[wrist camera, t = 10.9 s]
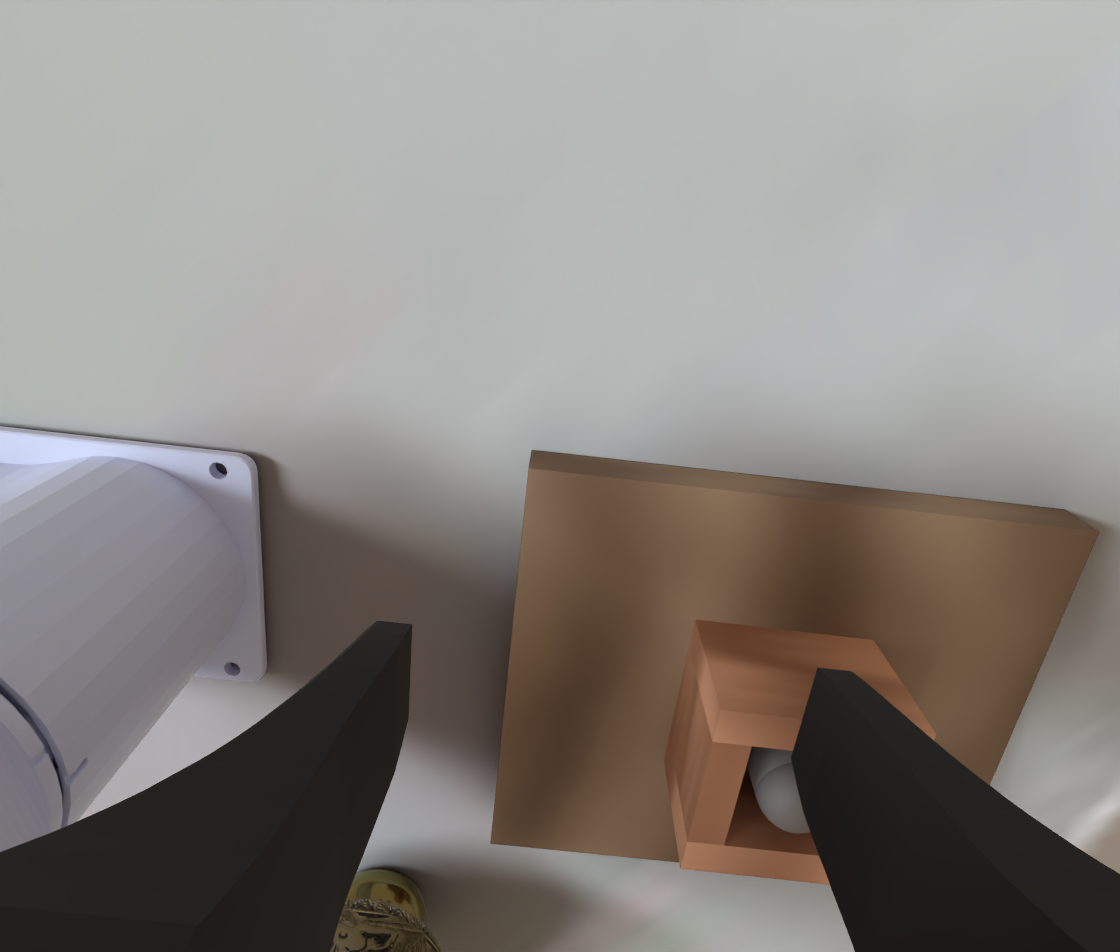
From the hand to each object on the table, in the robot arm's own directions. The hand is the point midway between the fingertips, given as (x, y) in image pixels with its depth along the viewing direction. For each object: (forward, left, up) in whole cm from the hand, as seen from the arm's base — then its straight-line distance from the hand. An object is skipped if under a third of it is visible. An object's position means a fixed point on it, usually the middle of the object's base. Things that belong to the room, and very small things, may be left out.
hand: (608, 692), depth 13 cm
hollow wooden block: (+6, -6, -8) cm, 12 cm away
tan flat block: (+6, -6, -9) cm, 13 cm away
